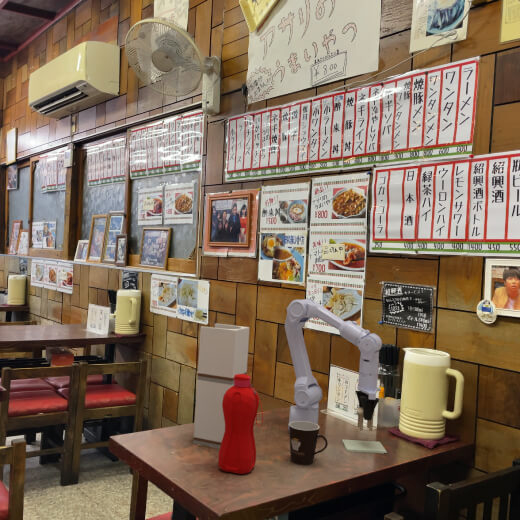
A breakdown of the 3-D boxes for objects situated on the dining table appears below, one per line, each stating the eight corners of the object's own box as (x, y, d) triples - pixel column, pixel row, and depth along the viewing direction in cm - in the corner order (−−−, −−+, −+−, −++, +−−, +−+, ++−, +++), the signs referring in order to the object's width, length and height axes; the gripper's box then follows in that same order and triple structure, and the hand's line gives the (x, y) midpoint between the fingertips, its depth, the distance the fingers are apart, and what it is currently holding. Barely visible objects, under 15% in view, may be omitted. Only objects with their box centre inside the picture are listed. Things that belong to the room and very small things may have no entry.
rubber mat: (347, 451, 163) (347, 449, 163) (342, 441, 172) (342, 439, 172) (386, 453, 164) (386, 451, 164) (379, 443, 173) (379, 441, 173)
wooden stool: (358, 431, 165) (359, 411, 165) (354, 425, 170) (355, 406, 171) (375, 431, 165) (376, 412, 166) (371, 426, 171) (372, 407, 171)
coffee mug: (281, 456, 155) (283, 421, 155) (308, 454, 159) (310, 420, 159) (300, 472, 145) (302, 434, 145) (328, 469, 148) (330, 432, 148)
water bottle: (254, 478, 139) (260, 380, 139) (214, 471, 141) (220, 375, 142) (264, 466, 147) (269, 374, 148) (226, 459, 150) (231, 369, 150)
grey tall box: (242, 440, 167) (249, 327, 167) (227, 450, 157) (235, 330, 157) (209, 434, 171) (216, 323, 171) (193, 443, 161) (200, 326, 162)
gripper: (387, 379, 161) (384, 424, 161) (375, 369, 175) (373, 411, 175) (363, 377, 161) (360, 423, 161) (354, 368, 175) (351, 410, 175)
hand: (365, 417), depth 168 cm, fingers closed on wooden stool, 5 cm apart
